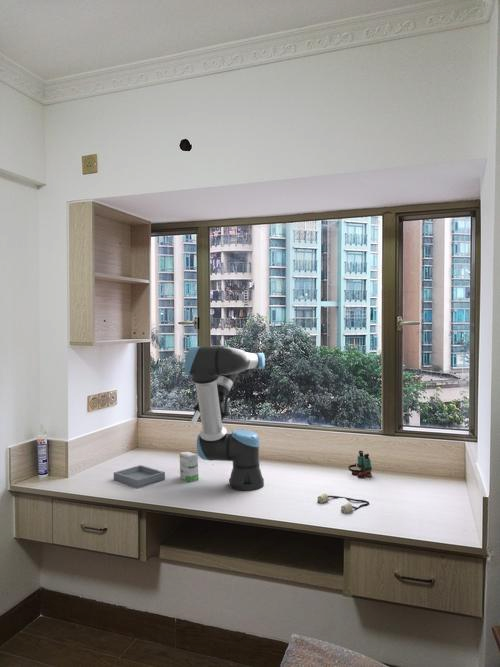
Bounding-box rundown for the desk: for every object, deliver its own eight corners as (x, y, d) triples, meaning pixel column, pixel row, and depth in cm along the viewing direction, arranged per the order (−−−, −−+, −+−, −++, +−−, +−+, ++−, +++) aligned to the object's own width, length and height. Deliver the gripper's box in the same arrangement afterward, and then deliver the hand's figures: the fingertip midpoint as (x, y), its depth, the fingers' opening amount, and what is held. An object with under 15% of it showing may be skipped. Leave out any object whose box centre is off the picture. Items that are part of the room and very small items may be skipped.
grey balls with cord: (342, 494, 215) (342, 486, 215) (373, 506, 202) (373, 497, 202) (314, 503, 206) (314, 494, 206) (345, 515, 193) (345, 506, 193)
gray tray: (164, 479, 237) (164, 472, 237) (137, 488, 226) (137, 480, 226) (140, 472, 249) (140, 465, 249) (113, 480, 238) (113, 472, 238)
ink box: (199, 480, 236) (198, 454, 235) (189, 482, 233) (189, 456, 232) (188, 475, 243) (188, 450, 242) (179, 478, 239) (178, 452, 239)
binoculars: (344, 453, 240) (362, 449, 244) (346, 475, 241) (364, 471, 244) (355, 458, 232) (373, 453, 235) (357, 481, 232) (376, 476, 236)
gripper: (246, 394, 249) (228, 433, 239) (206, 389, 264) (187, 426, 253) (239, 386, 245) (220, 425, 234) (199, 381, 259) (179, 418, 248)
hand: (203, 425), depth 244 cm, fingers open, 13 cm apart
